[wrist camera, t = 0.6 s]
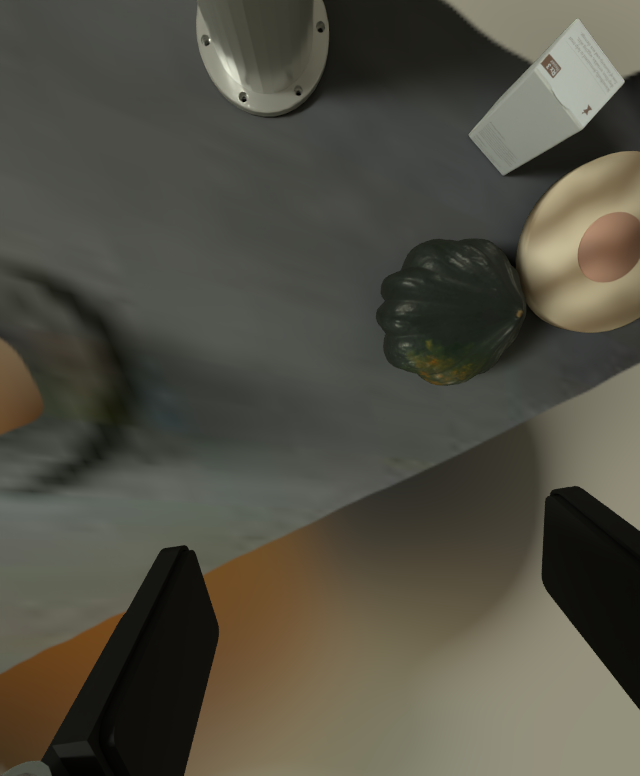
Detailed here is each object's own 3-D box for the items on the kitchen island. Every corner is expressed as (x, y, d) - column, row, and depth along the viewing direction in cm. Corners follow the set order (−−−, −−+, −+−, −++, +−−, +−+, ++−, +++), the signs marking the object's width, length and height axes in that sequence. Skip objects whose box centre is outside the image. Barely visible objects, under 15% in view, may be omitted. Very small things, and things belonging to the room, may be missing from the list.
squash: (331, 337, 37) (455, 404, 27) (395, 198, 34) (560, 219, 24) (394, 361, 47) (498, 415, 38) (447, 258, 44) (575, 288, 35)
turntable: (487, 231, 37) (534, 217, 30) (642, 118, 35) (736, 70, 27) (556, 359, 42) (611, 376, 34) (697, 268, 39) (791, 264, 32)
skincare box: (531, 144, 37) (634, 79, 25) (500, 179, 38) (585, 132, 26) (494, 99, 36) (584, 8, 24) (462, 137, 36) (535, 67, 25)
